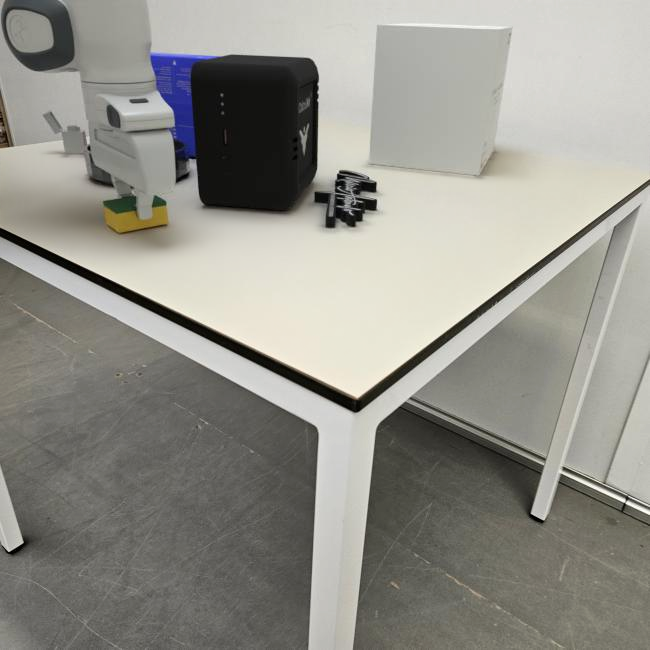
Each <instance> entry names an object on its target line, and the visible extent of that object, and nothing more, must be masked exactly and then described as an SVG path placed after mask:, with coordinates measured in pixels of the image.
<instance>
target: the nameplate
mask: <svg viewBox="0 0 650 650" xmlns="http://www.w3.org/2000/svg"><path fill="white" fill-rule="evenodd" d="M377 186H378V182H377V181H375V180H373V179H370V177H369V176H368V175H366V174H364V173H360V172H357V171H353V170H349V169H339V171H338V173H336V179H335V180H334V191H328V190H327V191H324V190H317V191H314V192H313V193H314V194H313V196H314V197H313V201H314V203H322V204H326V211H325V227H326V228H329V229H331V228H332V229H334V228H335V227H336V219H339V220H340V222H344V223H346V225H347V226H348V227H352V228H353V227H356V226H357V225H356V224H357V222H362V221H363V220H364V214H365V212H366V210H367V211H377V207H378V199H377V198H373V197H369V196H364V195H361V193H362V192H367V193H377V188H378V187H377Z"/></svg>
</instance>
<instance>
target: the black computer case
mask: <svg viewBox="0 0 650 650" xmlns="http://www.w3.org/2000/svg"><path fill="white" fill-rule="evenodd" d="M220 56H221V57H216V58H211V59H206V60H201V61H196V62H195V63H194V64H193V66H192V69H191V75H190V83H191V96H192V110H193V124H194V137H195V151H196V158H195V162H196V165H195V166H196V176H197V177H196V178H197V190H198V198H199V200H200V202H201V203H202V204H203V205H213V206H225V207H234V208H235V207H236V208H247V209H248V208H249V209H260V210H273V211H288V210H289V209H291V208H292V207H293V206H294V204H296V202H297V201H298V200H299V198H300V197H301V195H303V193H305V191H306V190H307V188H309V186H310V185H311V184H312V182H313V180H314V179H315V178H316V175H317V171H318V167H319V163H318V161H319V155H318V153H319V107H320V106H319V105H320V104H319V103H320V102H319V101H318V100H319V98H320V97H319V95H320V93H318V92H319V90H320V86H319V83H320V74H319V69H318V67H317V64H316V62H315V61H314V60H313V59H312V58H310V57H304V56H303V57H302V56H281V55H280V56H279V55H258V54H257V55H256V54H255V55H253V54H234V53H233V54H226V55H220Z"/></svg>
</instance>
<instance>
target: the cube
mask: <svg viewBox="0 0 650 650" xmlns="http://www.w3.org/2000/svg"><path fill="white" fill-rule="evenodd" d="M512 33H513V26H508V25H507V26H505V25H476V24H475V25H474V24H472V25H471V24H449V23H425V22H424V23H420V22H403V23H400V22H399V23H383V24H376V36H375V37H376V38H375V52H374V68H373V69H374V70H373V73H374V74H373V88H372V104H371V121H370V135H369V136H370V137H369V139H370V140H369V154H368V155H369V156H368V164H369V165H376V166H384V167H385V166H386V167H393V168H404V169H413V170H423V171H430V172H431V171H432V172H441V173H451V174H458V175H459V174H460V175H469V176H480V174H481V173H482V171H483V169H484V168H485V166H486V165H487V163H488V161H489V159H490V158H491V156H492V154H493V153H494V150H495V143H496V137H497V130H498V124H499V118H500V110H501V105H502V98H503V91H504V87H505V86H504V85H505V78H506V71H507V65H508V60H509V52H510V46H511V39H512Z"/></svg>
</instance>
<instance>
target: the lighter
mask: <svg viewBox="0 0 650 650" xmlns="http://www.w3.org/2000/svg"><path fill="white" fill-rule="evenodd" d="M42 117H43V118H44V120H45V121H46V123H47V124H48V126H49V127H50V129H51V130H52V132H53V134H55V135H57V134H60V133H61V137H62V138H61V139H62V142H63V143H62V144H63V148H64V153H65V155H79V154H80V155H84V146H86V145H88V141H87V140H88V139H87V135H86V130H85V129H81V127H80V126H79V125H77V124H68V125H66V129H64V128H63V126H62V125H61V123H60V122H59V121H58V119H57V118H56V116H55V114H54V113H53V111H52V110H48V111H46V112H44V113H42Z"/></svg>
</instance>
